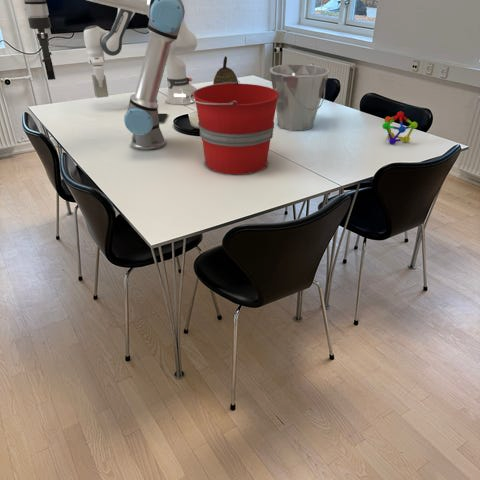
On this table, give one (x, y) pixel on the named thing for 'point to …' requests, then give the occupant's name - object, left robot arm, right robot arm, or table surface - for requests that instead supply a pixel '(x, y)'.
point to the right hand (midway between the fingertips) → (100, 85)
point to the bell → (225, 74)
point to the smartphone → (162, 117)
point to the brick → (100, 90)
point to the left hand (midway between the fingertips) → (51, 76)
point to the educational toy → (398, 128)
